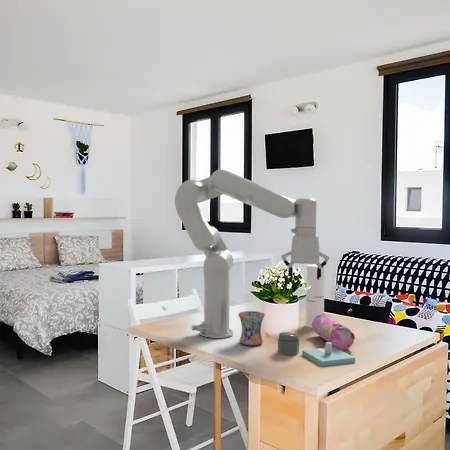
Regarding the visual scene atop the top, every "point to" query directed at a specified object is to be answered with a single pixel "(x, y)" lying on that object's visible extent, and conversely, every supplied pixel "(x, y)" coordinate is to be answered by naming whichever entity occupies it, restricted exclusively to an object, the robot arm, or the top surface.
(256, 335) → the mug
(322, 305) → the cylindrical container
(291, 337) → the knob
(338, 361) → the teal peg base
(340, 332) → the pencil case
